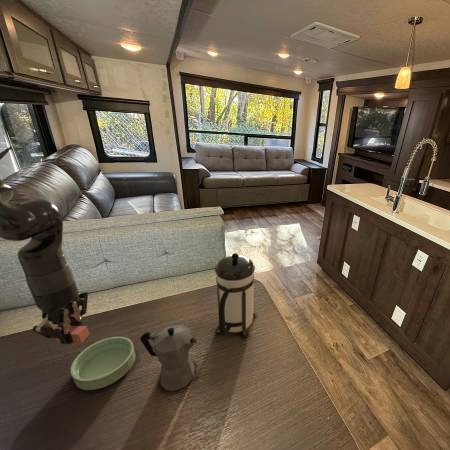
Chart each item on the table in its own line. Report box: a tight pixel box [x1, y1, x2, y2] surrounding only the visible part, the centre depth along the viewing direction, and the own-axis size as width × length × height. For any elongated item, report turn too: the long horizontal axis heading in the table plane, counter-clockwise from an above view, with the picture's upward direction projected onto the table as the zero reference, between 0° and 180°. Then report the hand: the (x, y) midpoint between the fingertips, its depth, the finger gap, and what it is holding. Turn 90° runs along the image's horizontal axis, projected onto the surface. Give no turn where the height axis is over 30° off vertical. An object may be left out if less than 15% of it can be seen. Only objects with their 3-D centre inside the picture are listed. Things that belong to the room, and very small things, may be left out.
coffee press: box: [214, 252, 256, 338], centre depth 84 cm, size 17×16×30 cm
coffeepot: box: [140, 324, 198, 392], centre depth 68 cm, size 15×9×18 cm, turn 86°
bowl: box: [70, 336, 137, 391], centre depth 71 cm, size 14×14×4 cm
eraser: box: [55, 325, 90, 344], centre depth 64 cm, size 6×3×3 cm, turn 92°
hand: (73, 337), depth 65 cm, fingers closed on eraser, 2 cm apart
